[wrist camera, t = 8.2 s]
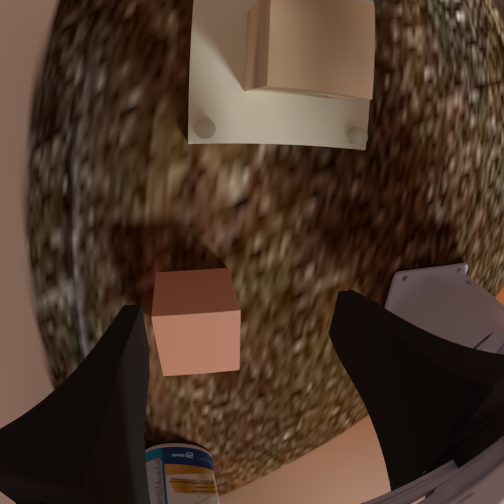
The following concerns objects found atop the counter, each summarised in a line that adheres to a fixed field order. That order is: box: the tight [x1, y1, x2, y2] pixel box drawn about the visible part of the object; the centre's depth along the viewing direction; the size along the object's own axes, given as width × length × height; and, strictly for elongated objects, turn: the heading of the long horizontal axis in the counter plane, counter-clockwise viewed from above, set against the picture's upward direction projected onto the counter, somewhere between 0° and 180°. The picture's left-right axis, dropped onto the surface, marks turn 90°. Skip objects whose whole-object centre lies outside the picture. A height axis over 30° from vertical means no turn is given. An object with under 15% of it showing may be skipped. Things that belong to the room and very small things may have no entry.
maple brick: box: [244, 0, 375, 100], centre depth 12 cm, size 4×4×4 cm
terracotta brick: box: [151, 268, 241, 376], centre depth 18 cm, size 4×4×4 cm
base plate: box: [188, 0, 374, 150], centre depth 14 cm, size 10×10×2 cm
